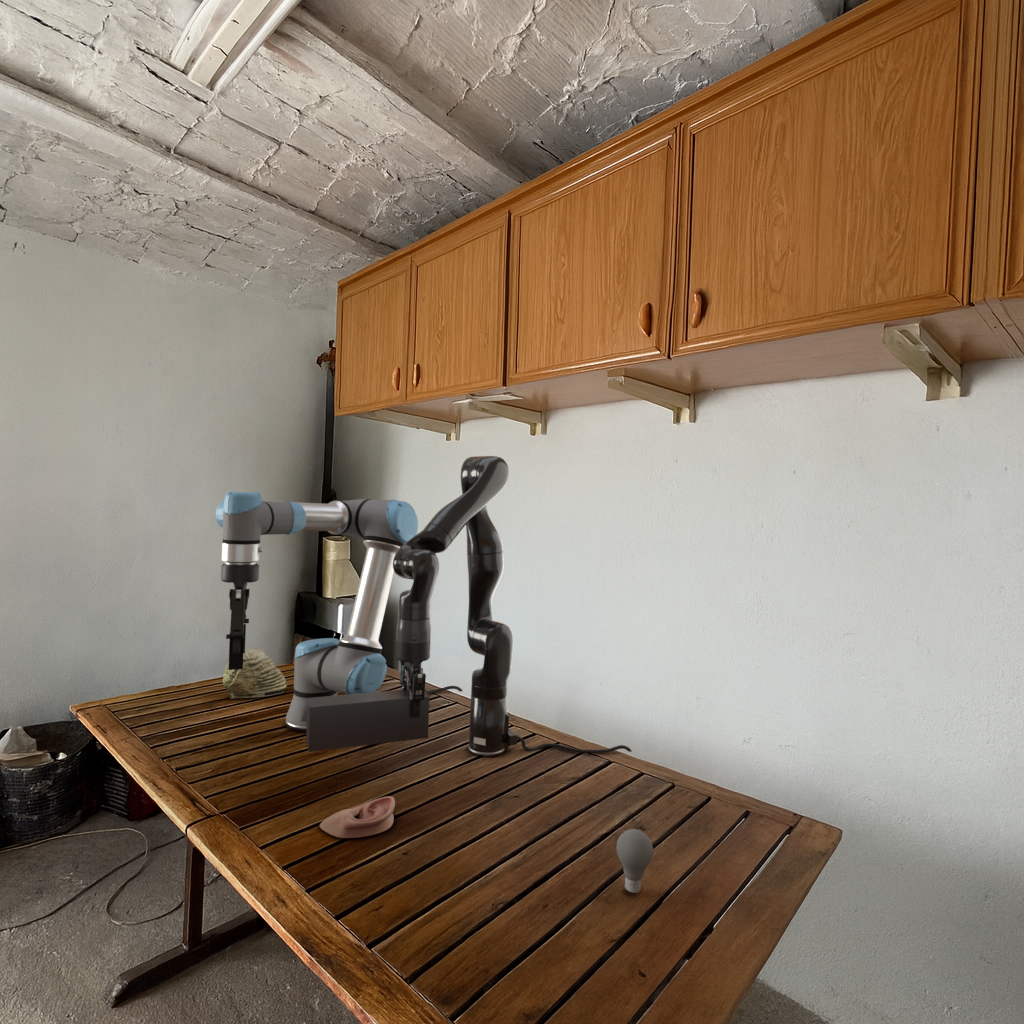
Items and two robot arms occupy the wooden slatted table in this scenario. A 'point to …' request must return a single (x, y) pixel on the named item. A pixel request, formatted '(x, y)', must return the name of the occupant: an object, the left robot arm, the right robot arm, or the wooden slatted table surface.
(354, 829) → the anatomical model
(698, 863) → the wooden slatted table surface
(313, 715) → the box
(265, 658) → the fossil
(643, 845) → the light bulb
